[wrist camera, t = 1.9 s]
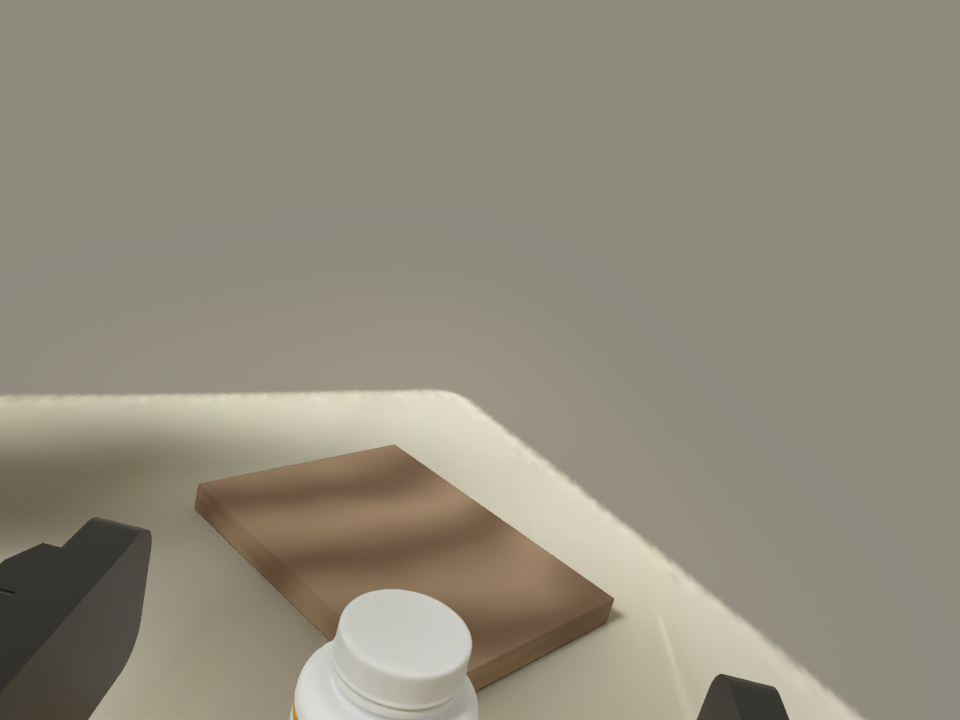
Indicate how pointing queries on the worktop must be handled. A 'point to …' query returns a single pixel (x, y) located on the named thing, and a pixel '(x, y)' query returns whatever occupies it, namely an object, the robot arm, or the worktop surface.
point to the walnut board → (403, 552)
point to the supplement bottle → (390, 663)
